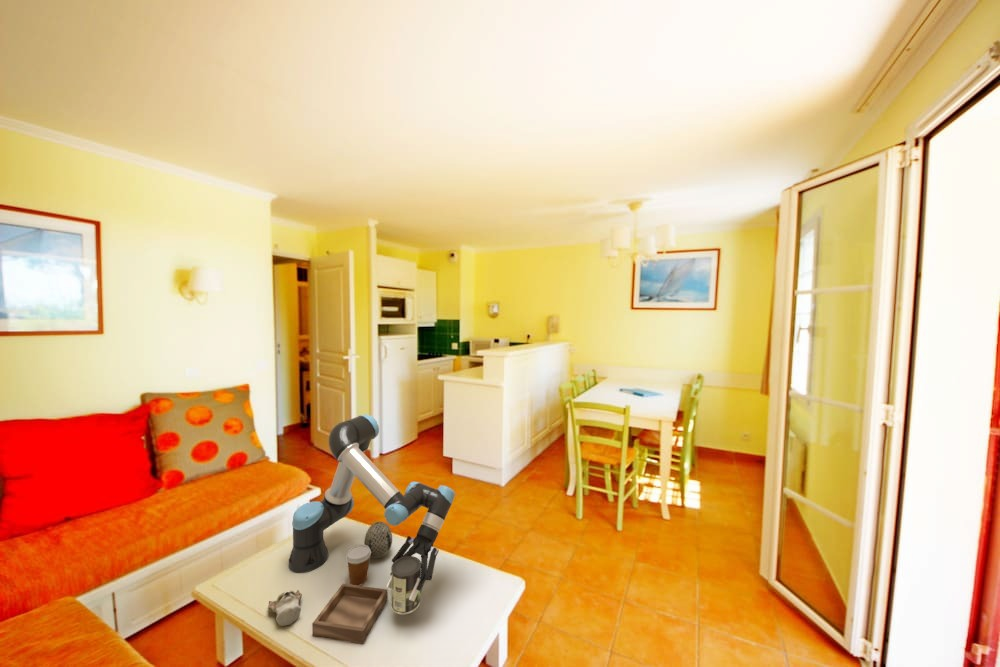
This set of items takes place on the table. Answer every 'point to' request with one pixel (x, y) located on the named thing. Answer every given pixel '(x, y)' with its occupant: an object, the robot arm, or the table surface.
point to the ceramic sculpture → (286, 607)
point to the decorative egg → (378, 539)
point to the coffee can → (405, 584)
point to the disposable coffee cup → (358, 563)
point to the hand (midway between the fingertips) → (399, 593)
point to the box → (350, 613)
